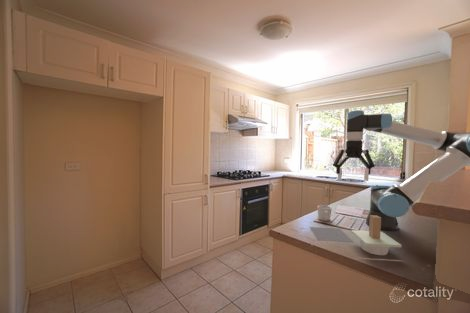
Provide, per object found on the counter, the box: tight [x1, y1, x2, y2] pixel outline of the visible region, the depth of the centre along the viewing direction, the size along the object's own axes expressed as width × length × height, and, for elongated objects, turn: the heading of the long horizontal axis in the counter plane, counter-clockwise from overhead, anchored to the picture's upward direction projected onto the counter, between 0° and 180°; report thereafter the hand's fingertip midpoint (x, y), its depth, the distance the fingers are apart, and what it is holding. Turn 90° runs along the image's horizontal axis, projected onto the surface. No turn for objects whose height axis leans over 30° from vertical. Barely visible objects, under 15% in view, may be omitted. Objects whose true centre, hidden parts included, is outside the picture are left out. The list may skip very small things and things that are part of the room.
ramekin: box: [359, 240, 390, 256], centre depth 90 cm, size 11×11×5 cm
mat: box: [309, 226, 354, 243], centre depth 106 cm, size 16×16×1 cm
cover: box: [350, 215, 402, 248], centre depth 90 cm, size 13×13×10 cm
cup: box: [316, 204, 333, 222], centre depth 126 cm, size 11×8×8 cm
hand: (352, 180), depth 112 cm, fingers open, 13 cm apart
